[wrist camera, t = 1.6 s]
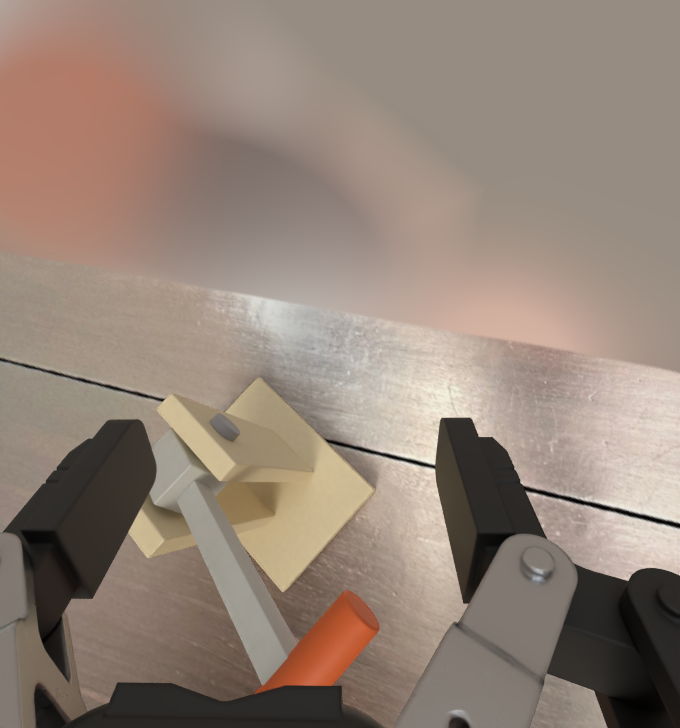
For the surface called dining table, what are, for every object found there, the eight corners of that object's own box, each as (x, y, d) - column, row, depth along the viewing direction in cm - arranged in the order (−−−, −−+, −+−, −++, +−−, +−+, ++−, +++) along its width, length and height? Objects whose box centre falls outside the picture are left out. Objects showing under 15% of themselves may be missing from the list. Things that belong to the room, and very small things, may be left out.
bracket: (376, 489, 30) (338, 494, 16) (288, 588, 29) (168, 683, 15) (263, 380, 34) (153, 306, 20) (183, 465, 33) (9, 452, 19)
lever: (393, 632, 13) (359, 627, 11) (257, 791, 13) (201, 811, 11) (233, 417, 21) (200, 395, 20) (147, 508, 21) (105, 494, 19)
